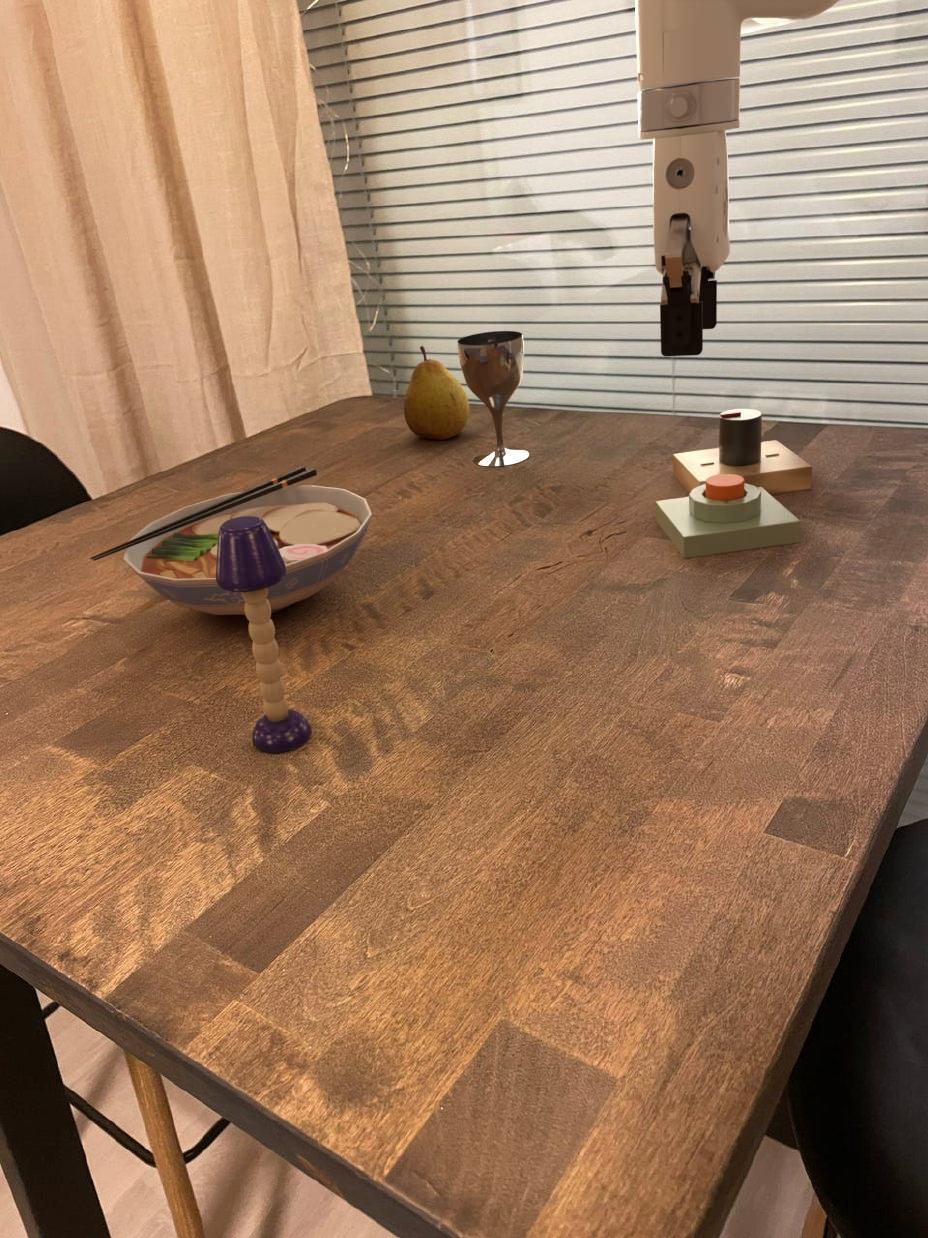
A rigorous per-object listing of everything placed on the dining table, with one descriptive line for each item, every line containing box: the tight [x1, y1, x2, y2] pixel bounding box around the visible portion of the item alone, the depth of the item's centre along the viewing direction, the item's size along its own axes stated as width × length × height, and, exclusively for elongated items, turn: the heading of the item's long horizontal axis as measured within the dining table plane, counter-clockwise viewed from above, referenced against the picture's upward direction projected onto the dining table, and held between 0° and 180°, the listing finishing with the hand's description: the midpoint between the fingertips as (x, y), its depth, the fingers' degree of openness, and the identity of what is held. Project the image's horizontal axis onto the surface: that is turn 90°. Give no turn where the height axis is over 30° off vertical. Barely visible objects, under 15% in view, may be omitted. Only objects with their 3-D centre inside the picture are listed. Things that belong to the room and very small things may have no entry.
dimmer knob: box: [718, 408, 763, 466], centre depth 104 cm, size 4×4×5 cm
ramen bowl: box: [89, 465, 373, 616], centre depth 91 cm, size 25×23×8 cm
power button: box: [706, 474, 745, 501], centre depth 93 cm, size 4×4×2 cm
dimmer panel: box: [672, 439, 813, 495], centre depth 106 cm, size 12×10×3 cm
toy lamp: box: [216, 516, 312, 754], centre depth 67 cm, size 5×5×17 cm
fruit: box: [403, 345, 470, 441], centre depth 133 cm, size 9×9×12 cm
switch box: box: [654, 483, 801, 559], centre depth 94 cm, size 11×10×4 cm
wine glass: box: [457, 330, 530, 468], centre depth 120 cm, size 8×8×15 cm
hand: (690, 341), depth 81 cm, fingers open, 9 cm apart
